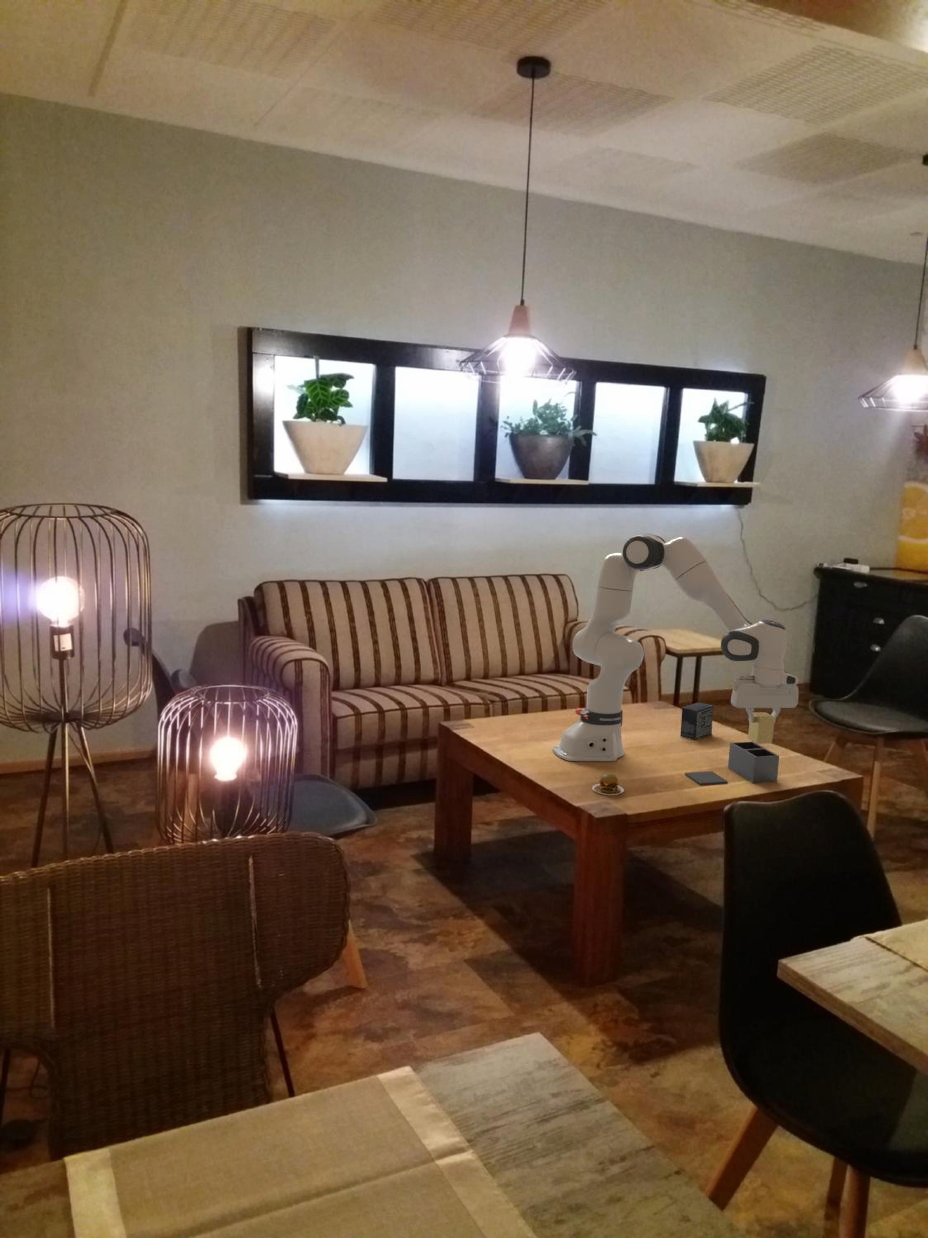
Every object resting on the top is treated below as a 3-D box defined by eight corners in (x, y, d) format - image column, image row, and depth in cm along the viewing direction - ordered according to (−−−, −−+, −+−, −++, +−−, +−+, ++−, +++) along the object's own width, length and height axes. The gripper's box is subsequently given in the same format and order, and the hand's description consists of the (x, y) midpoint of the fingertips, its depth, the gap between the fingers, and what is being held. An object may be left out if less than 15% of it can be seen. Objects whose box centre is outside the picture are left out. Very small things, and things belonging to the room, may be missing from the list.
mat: (699, 785, 275) (699, 783, 275) (684, 774, 284) (685, 773, 284) (727, 783, 278) (727, 781, 278) (711, 773, 286) (711, 771, 286)
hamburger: (599, 782, 277) (601, 764, 276) (636, 792, 270) (638, 773, 269) (578, 793, 268) (579, 774, 267) (616, 803, 261) (617, 784, 260)
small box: (695, 730, 331) (698, 701, 329) (712, 735, 326) (714, 705, 324) (679, 736, 323) (681, 706, 321) (695, 740, 319) (697, 710, 317)
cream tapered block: (756, 743, 277) (759, 717, 275) (747, 738, 281) (750, 712, 280) (771, 743, 278) (775, 717, 276) (762, 738, 283) (765, 712, 281)
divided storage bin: (752, 783, 278) (755, 757, 277) (727, 767, 292) (730, 742, 290) (776, 781, 280) (779, 755, 279) (751, 766, 294) (753, 741, 292)
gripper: (740, 678, 271) (735, 725, 273) (803, 678, 276) (798, 724, 278) (729, 673, 277) (724, 719, 279) (791, 674, 282) (786, 719, 284)
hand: (761, 722), depth 279 cm, fingers closed on cream tapered block, 5 cm apart
